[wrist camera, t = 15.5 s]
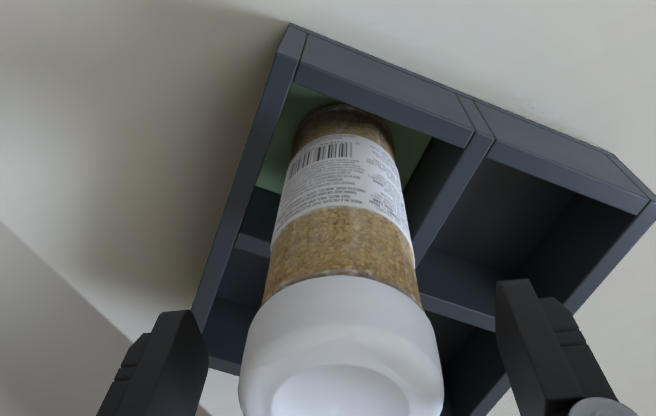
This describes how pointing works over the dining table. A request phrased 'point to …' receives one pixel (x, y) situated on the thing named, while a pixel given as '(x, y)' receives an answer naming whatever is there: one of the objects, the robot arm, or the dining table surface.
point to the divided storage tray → (431, 208)
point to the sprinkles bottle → (341, 285)
